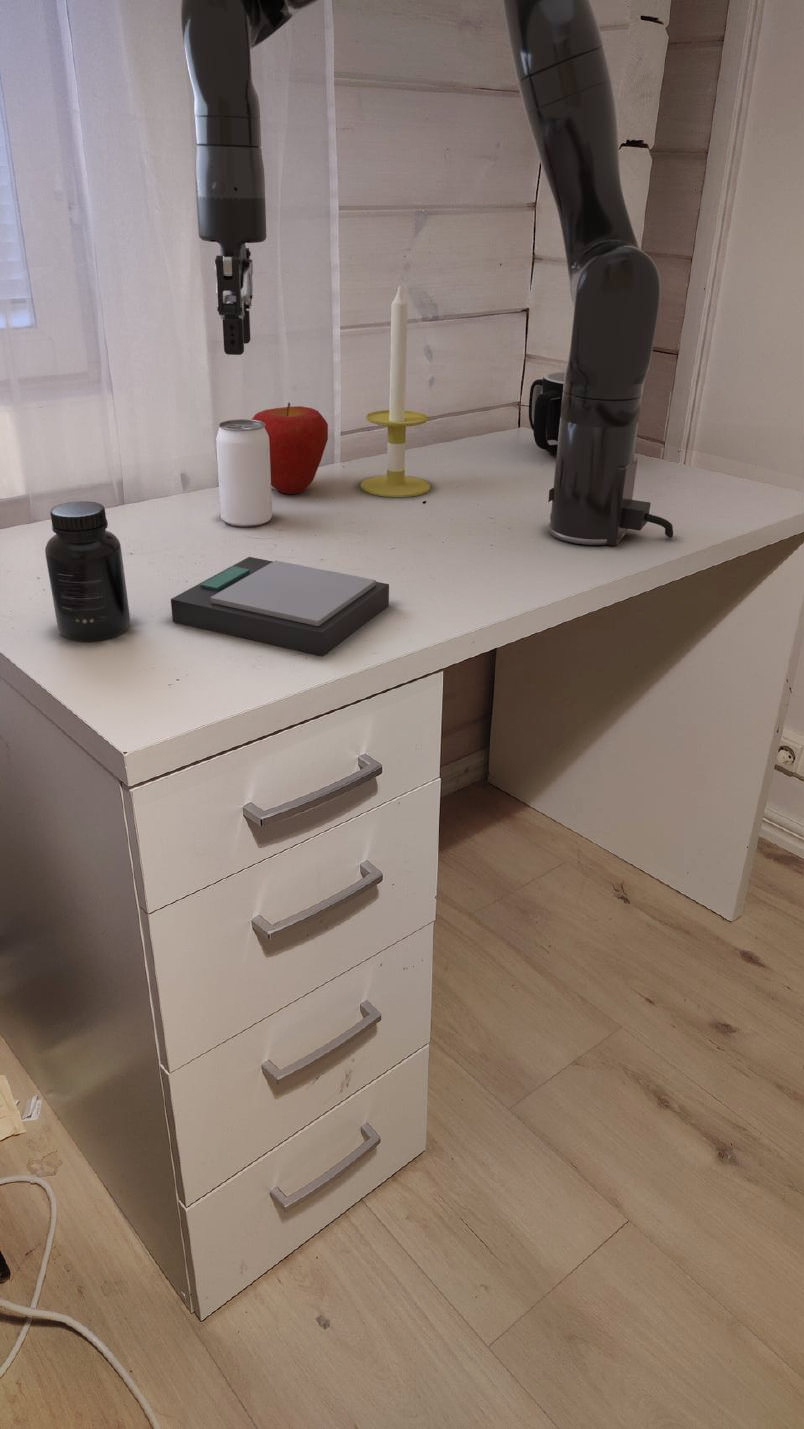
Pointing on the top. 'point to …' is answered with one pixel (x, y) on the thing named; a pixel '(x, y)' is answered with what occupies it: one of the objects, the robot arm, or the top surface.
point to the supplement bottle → (86, 573)
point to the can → (244, 472)
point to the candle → (396, 416)
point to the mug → (546, 410)
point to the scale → (282, 604)
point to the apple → (294, 445)
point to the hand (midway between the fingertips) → (238, 348)
